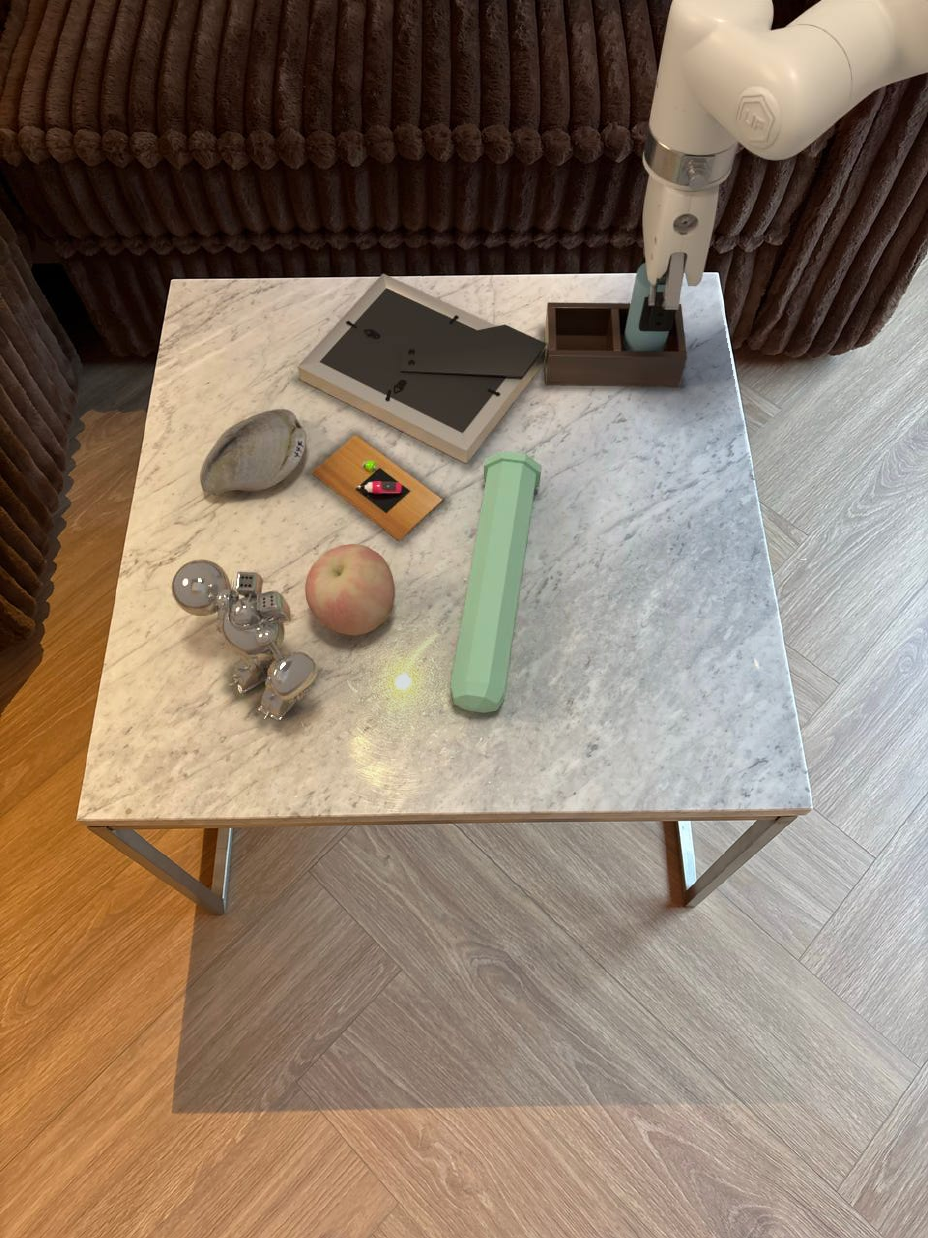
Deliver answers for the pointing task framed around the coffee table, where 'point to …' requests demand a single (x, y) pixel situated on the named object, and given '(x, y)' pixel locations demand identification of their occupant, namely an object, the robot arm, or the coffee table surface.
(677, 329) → the holder
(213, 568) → the robot toy
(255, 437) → the seashell
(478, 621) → the container
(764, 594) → the coffee table surface
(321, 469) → the board
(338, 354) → the picture frame
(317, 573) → the apple
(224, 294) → the coffee table surface
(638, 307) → the bottle
